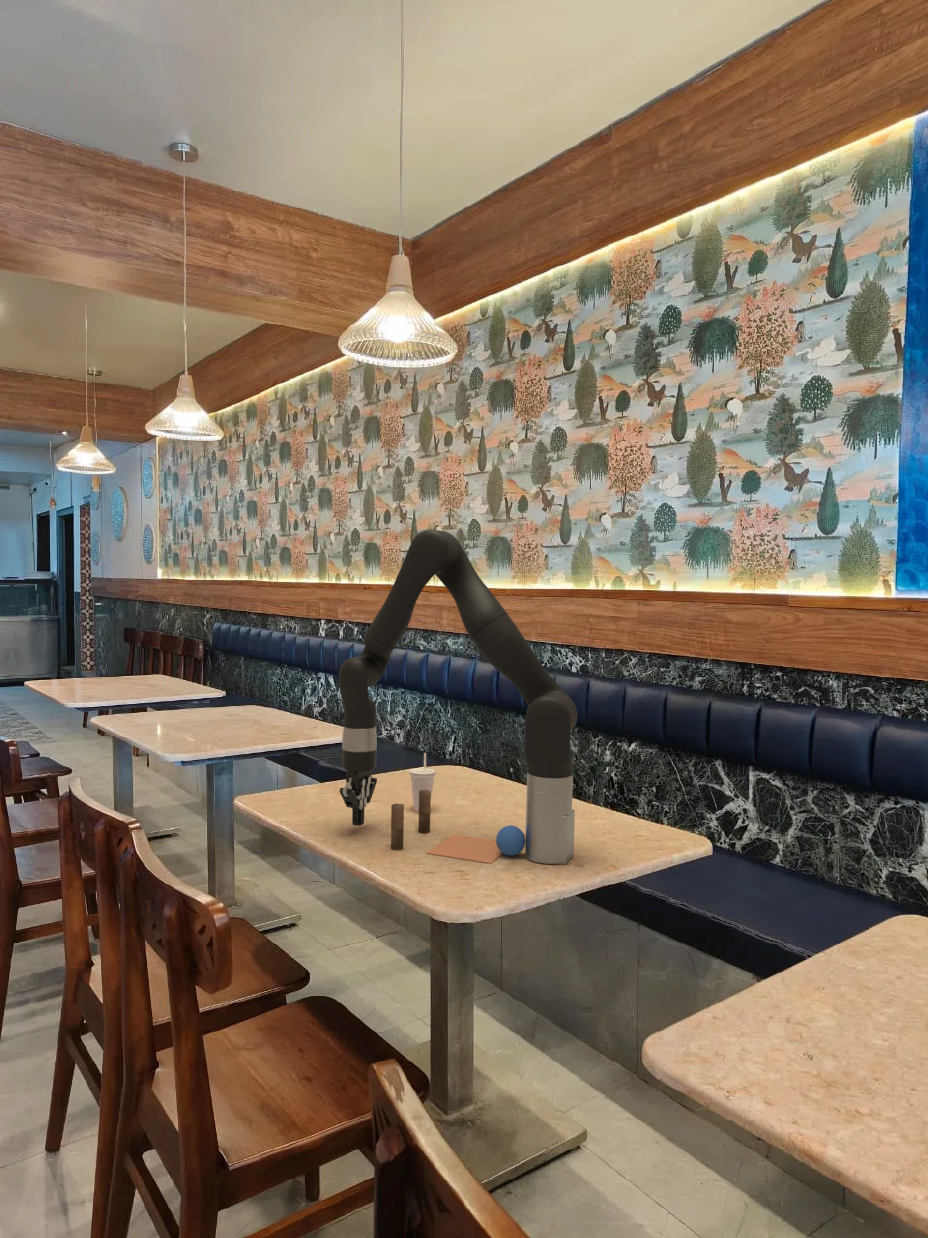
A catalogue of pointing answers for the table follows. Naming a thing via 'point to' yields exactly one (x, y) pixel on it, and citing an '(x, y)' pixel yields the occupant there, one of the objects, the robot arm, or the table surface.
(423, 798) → the right post
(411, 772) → the smoothie
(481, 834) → the table surface
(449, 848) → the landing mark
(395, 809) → the left post
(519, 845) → the ball
